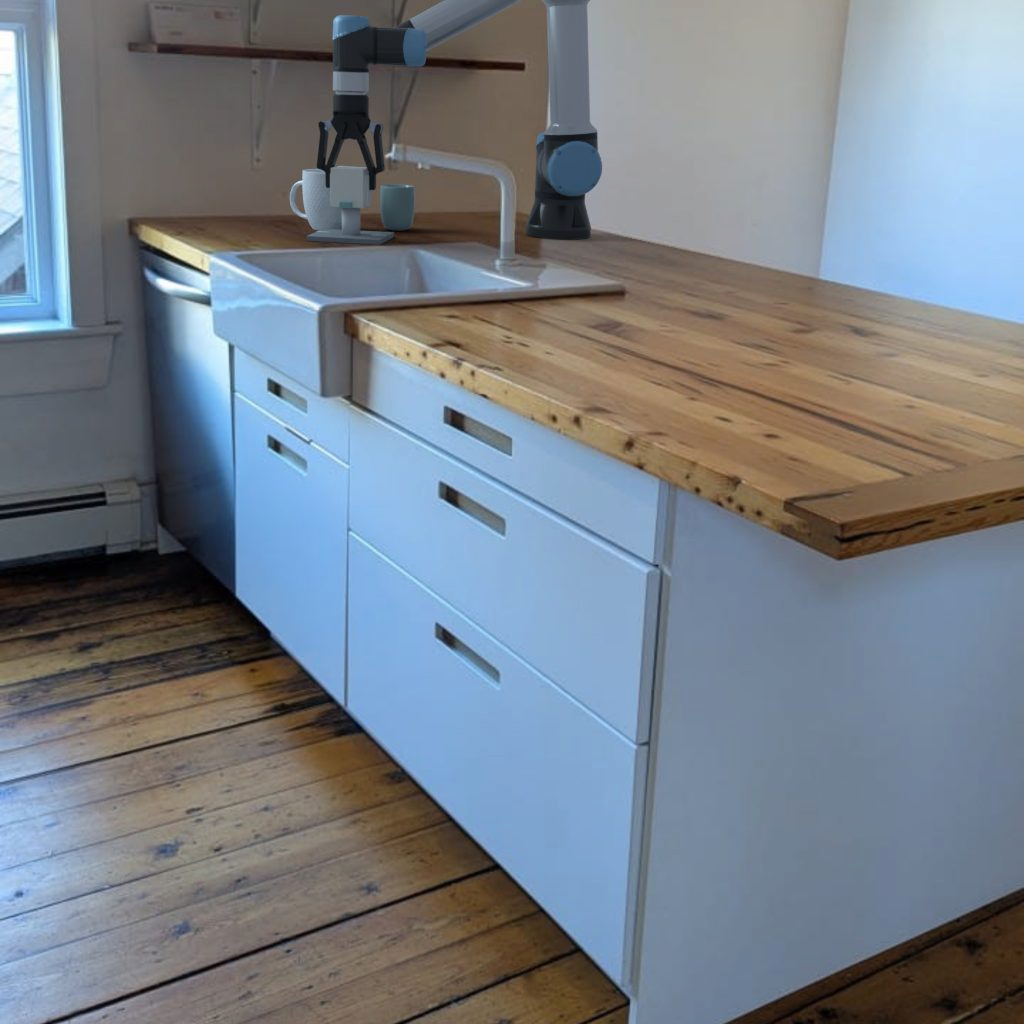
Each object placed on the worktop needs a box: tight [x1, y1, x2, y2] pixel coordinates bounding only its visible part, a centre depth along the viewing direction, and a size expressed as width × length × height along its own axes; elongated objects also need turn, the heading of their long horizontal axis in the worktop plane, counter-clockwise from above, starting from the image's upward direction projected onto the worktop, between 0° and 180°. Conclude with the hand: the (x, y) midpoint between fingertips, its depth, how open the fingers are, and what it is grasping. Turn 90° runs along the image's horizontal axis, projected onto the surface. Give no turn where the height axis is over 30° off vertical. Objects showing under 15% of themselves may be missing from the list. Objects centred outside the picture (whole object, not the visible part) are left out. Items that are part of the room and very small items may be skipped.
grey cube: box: [331, 165, 369, 209], centre depth 284 cm, size 7×10×8 cm
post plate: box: [306, 208, 395, 245], centre depth 286 cm, size 16×14×7 cm
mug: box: [289, 168, 342, 231], centre depth 300 cm, size 15×11×13 cm
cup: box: [379, 183, 416, 232], centre depth 304 cm, size 8×8×10 cm
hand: (350, 204), depth 285 cm, fingers closed on grey cube, 7 cm apart
